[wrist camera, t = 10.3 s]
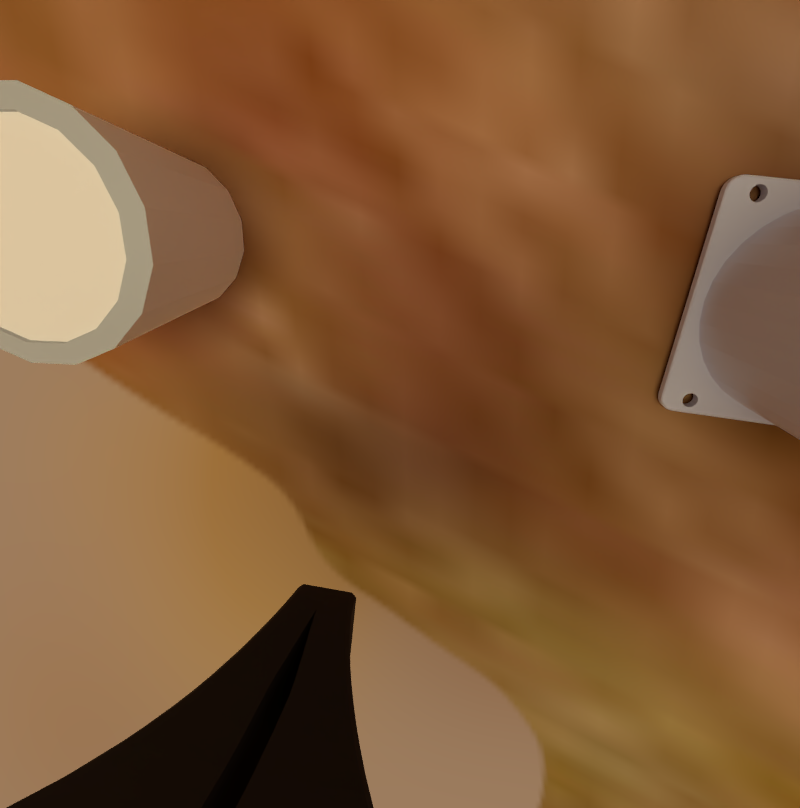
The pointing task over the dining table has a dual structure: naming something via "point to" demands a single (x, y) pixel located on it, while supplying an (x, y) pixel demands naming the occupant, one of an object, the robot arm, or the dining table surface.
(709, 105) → the dining table surface
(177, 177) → the shot glass
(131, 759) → the robot arm
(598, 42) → the dining table surface
